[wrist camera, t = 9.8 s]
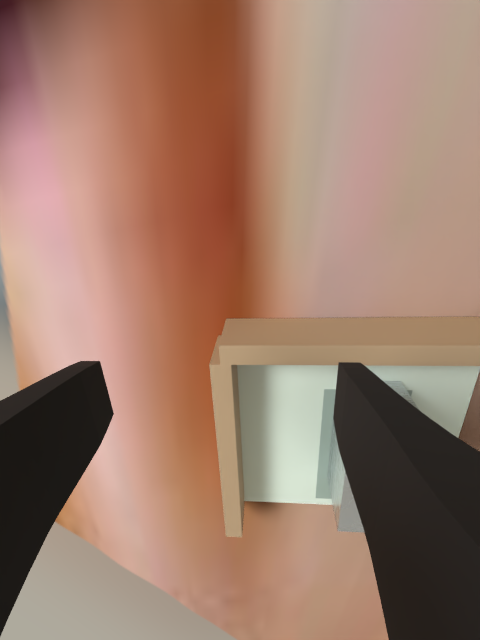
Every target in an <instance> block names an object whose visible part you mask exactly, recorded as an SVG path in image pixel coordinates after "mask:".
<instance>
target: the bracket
mask: <svg viewBox="0 0 480 640" xmlns="http://www.w3.org/2000/svg"><path fill="white" fill-rule="evenodd" d="M384 382H385V383H386V384H387V385H388V386H390V387H391V388H392V389H393V390H394V391H396V392H397V393H398V394H399V395H401V396H402V397H403V398H404V399H406V400H407V401H408V402H409V403H411V404H412V405H413V406H414V407H416V408H417V409H418V407H417V406H416V404H415V402H414V401H413V399H412V398H411V396H410V395H409V393H408V392H407V390H406V389H405V387H404V385H403V384H402V382H401V381H384ZM336 383H337V382H336ZM335 394H336V392H335ZM334 404H335V402H334ZM418 410H419V409H418ZM333 414H334V412H333ZM327 480H328V485H329V490H330V495H331V500H332V505H333V511H334V516H335V521H336V526H337V531H346V532H364V528H363V525H362V522H361V519H360V516H359V513H358V509H357V506H356V503H355V500H354V497H353V494H352V491H351V487H350V484H349V481H348V478H347V475H346V471H345V468H344V465H343V462H342V459H341V455H340V452H339V448H338V443H337V437H336V432H335V426H334V421H333V423H332V433H331V443H330V453H329V464H328V474H327Z"/></svg>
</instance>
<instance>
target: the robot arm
mask: <svg viewBox="0 0 480 640" xmlns="http://www.w3.org/2000/svg"><path fill="white" fill-rule="evenodd" d="M113 414H114V413H113V410H112V406H111V402H110V398H109V394H108V390H107V387H106V383H105V379H104V375H103V371H102V367H101V364H100V361H80V362H78V363H75V364H73V365H70V366H68V367H66V368H64V369H62V370H60V371H58V372H56V373H54V374H52V375H50V376H48V377H46V378H44V379H42V380H40V381H38V382H36V383H34V384H32V385H30V386H29V387H27V388H25V389H23V390H21V391H19V392H17V393H15V394H13V395H11V396H9V397H7V398H5V399H3V400H1V401H0V636H1V633H2V631H3V629H4V626H5V624H6V621H7V619H8V617H9V615H10V613H11V610H12V608H13V606H14V604H15V602H16V599H17V597H18V595H19V593H20V591H21V589H22V586H23V584H24V582H25V580H26V577H27V575H28V573H29V571H30V569H31V567H32V565H33V563H34V561H35V559H36V557H37V555H38V553H39V551H40V549H41V546H42V545H43V542H44V540H45V538H46V536H47V534H48V532H49V531H50V529H51V527H52V525H53V523H54V522H55V520H56V518H57V516H58V515H59V513H60V511H61V510H62V508H63V506H64V505H65V503H66V501H67V500H68V498H69V496H70V495H71V493H72V491H73V490H74V488H75V486H76V485H77V483H78V481H79V480H80V478H81V477H82V475H83V473H84V472H85V470H86V468H87V467H88V465H89V463H90V461H91V460H92V458H93V456H94V455H95V453H96V451H97V450H98V448H99V446H100V444H101V442H102V440H103V438H104V436H105V433H106V431H107V429H108V426H109V424H110V422H111V419H112V417H113ZM333 421H334V426H335V432H336V437H337V443H338V448H339V452H340V455H341V459H342V462H343V465H344V468H345V471H346V475H347V478H348V481H349V484H350V487H351V491H352V494H353V497H354V500H355V503H356V506H357V509H358V513H359V516H360V519H361V522H362V525H363V528H364V532H365V535H366V539H367V543H368V546H369V550H370V554H371V558H372V563H373V567H374V572H375V576H376V581H377V585H378V590H379V594H380V599H381V604H382V609H383V613H384V618H385V623H386V628H387V633H388V637H389V640H480V452H479V451H477V450H476V449H474V448H473V447H471V446H469V445H468V444H466V443H465V442H463V441H462V440H460V439H459V438H457V437H456V436H454V435H453V434H451V433H450V432H449V431H447V430H446V429H444V428H443V427H442V426H440V425H439V424H437V423H436V422H435V421H433V420H432V419H430V418H429V417H428V416H426V415H425V414H424V413H422V412H421V411H420V410H418V409H417V408H416V407H414V406H413V405H412V404H411V403H409V402H408V401H407V400H406V399H404V398H403V397H402V396H401V395H399V394H398V393H397V392H396V391H394V390H393V389H392V388H391V387H390V386H388V385H387V384H386V383H385V382H384V381H382V380H381V379H380V378H379V377H378V376H377V375H375V374H374V373H373V372H372V371H371V370H369V369H368V368H367V367H366V366H364V365H363V364H362V363H361V362H339V363H338V373H337V383H336V394H335V404H334V414H333Z"/></svg>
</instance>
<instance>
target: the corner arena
mask: <svg viewBox="0 0 480 640" xmlns="http://www.w3.org/2000/svg"><path fill="white" fill-rule="evenodd" d="M339 362H361V363H362V364H363V365H364V366H366V367H367V368H368V369H369V370H371V371H372V372H373V373H374V374H375V375H377V376H378V377H379V378H380V379H381V380H382V381H401V382H402V384H403V385H404V387H405V389H406V390H407V392H408V393H409V395H410V396H411V398H412V399H413V401H414V402H415V404H416V406H417V407H418V409H419V410H420V411H421V412H422V413H424V414H425V415H426V416H428V417H429V418H430V419H432V420H433V421H435V422H436V423H437V424H439V425H440V426H442V427H443V428H444V429H446V430H447V431H449V432H450V433H451V434H453V435H454V436H456V437H457V438H458V437H459V434H460V431H461V428H462V425H463V421H464V418H465V415H466V412H467V409H468V406H469V402H470V399H471V396H472V393H473V390H474V387H475V383H476V380H477V377H478V374H479V371H480V317H380V318H248V319H226V321H225V325H224V329H223V332H222V336H218V338H217V341H216V345H215V348H214V351H213V355H212V358H211V361H210V364H209V366H210V376H211V386H212V397H213V407H214V417H215V428H216V438H217V448H218V459H219V469H220V479H221V490H222V500H223V510H224V521H225V531H226V536H227V537H242V531H243V517H244V502H245V501H258V502H281V503H304V504H327V505H332V500H331V495H330V490H329V485H328V480H327V474H328V464H329V453H330V443H331V433H332V423H333V412H334V402H335V392H336V382H337V373H338V363H339Z"/></svg>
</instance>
